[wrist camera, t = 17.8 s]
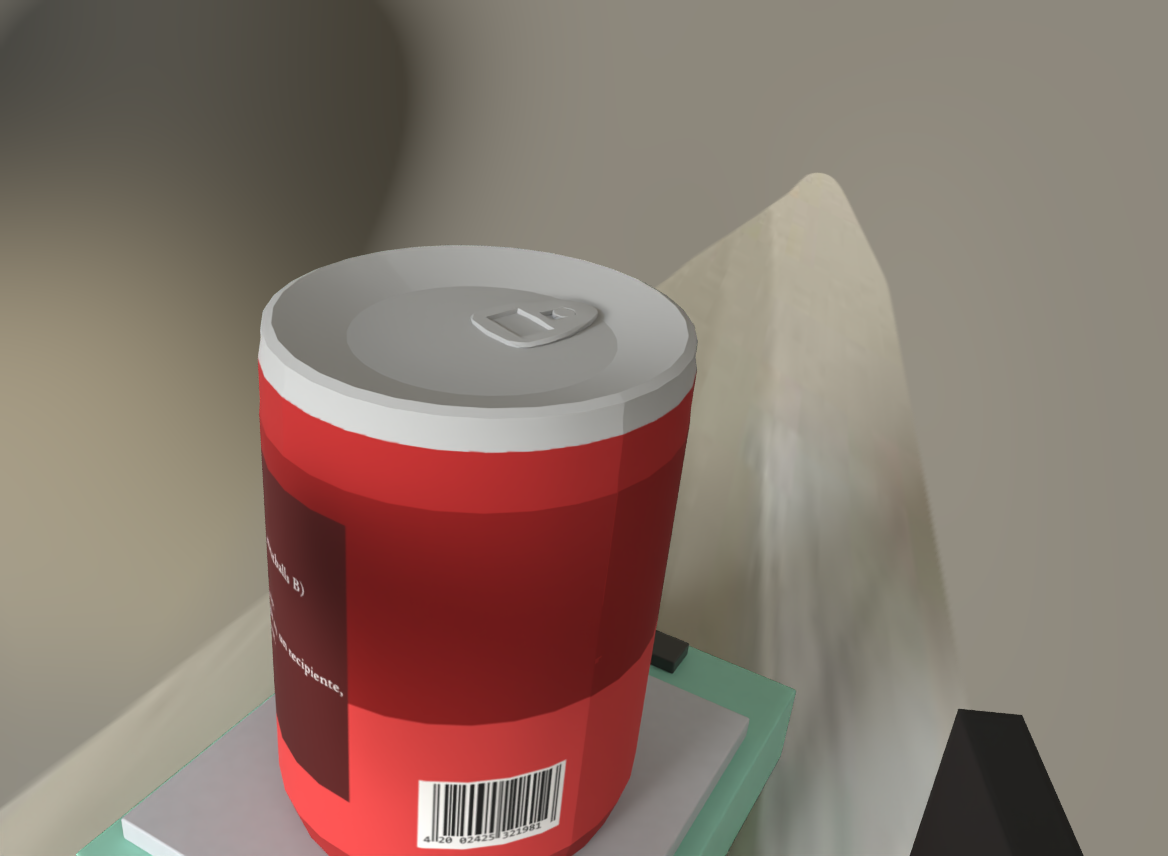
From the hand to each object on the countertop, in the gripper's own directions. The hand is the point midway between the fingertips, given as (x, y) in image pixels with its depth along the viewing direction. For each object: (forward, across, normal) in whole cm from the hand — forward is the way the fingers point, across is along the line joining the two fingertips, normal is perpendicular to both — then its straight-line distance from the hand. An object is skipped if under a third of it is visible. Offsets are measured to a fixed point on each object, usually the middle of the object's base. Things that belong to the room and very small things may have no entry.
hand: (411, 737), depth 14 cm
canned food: (+8, 0, -9) cm, 12 cm away
